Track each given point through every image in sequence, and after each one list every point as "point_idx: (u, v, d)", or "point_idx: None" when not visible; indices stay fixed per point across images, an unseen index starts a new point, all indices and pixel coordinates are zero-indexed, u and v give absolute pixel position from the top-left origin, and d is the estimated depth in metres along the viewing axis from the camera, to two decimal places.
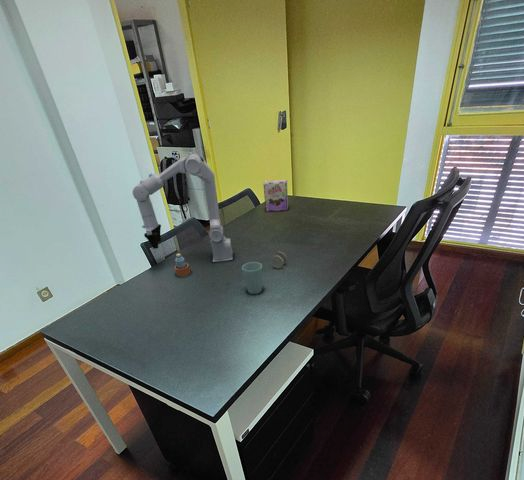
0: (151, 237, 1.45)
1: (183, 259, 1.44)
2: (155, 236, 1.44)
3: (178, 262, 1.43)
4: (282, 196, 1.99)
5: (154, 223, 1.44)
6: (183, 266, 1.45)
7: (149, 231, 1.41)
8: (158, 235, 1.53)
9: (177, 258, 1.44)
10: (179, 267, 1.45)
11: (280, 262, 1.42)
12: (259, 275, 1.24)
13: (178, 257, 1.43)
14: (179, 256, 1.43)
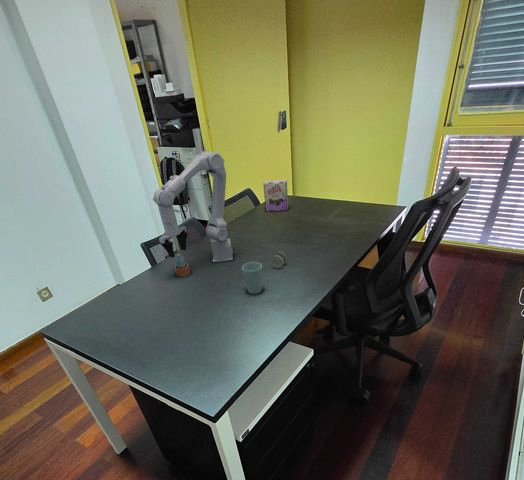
0: (167, 245, 1.37)
1: (183, 259, 1.44)
2: (168, 245, 1.34)
3: (178, 262, 1.43)
4: (282, 196, 1.99)
5: (172, 232, 1.34)
6: (183, 266, 1.45)
7: (161, 239, 1.32)
8: (183, 243, 1.43)
9: (177, 258, 1.44)
10: (179, 267, 1.45)
11: (280, 262, 1.42)
12: (259, 275, 1.24)
13: (178, 257, 1.43)
14: (179, 256, 1.43)
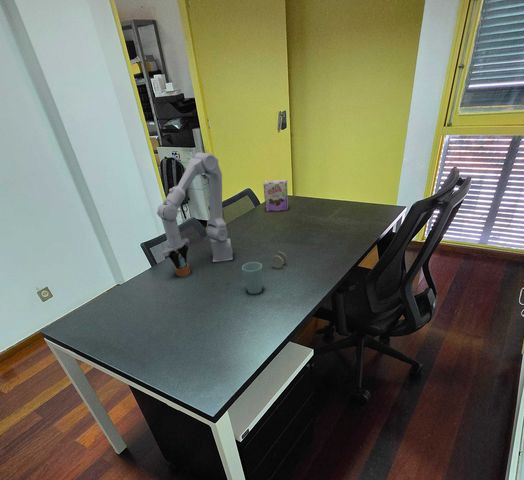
0: (173, 256, 1.41)
1: (183, 259, 1.44)
2: (174, 256, 1.39)
3: None
4: (282, 196, 1.99)
5: (176, 244, 1.38)
6: (183, 266, 1.45)
7: (165, 252, 1.36)
8: (183, 256, 1.45)
9: None
10: (179, 267, 1.45)
11: (280, 262, 1.42)
12: (259, 275, 1.24)
13: None
14: (179, 256, 1.43)
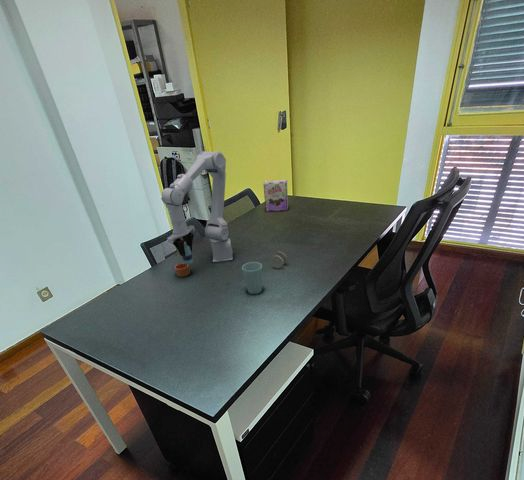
0: (178, 244, 1.35)
1: (188, 247, 1.38)
2: (179, 244, 1.33)
3: None
4: (282, 196, 1.99)
5: (181, 231, 1.32)
6: (188, 255, 1.39)
7: (170, 239, 1.30)
8: (189, 244, 1.39)
9: None
10: (184, 256, 1.39)
11: (280, 262, 1.42)
12: (259, 275, 1.24)
13: None
14: (184, 244, 1.37)
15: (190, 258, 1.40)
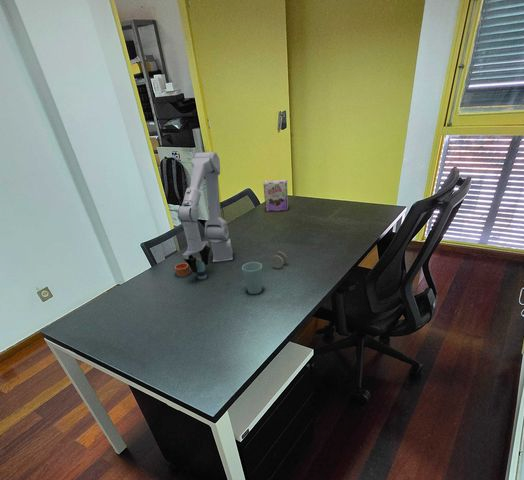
0: (190, 261, 1.36)
1: (203, 263, 1.40)
2: (192, 261, 1.33)
3: (198, 266, 1.39)
4: (282, 196, 1.99)
5: (196, 247, 1.33)
6: (203, 270, 1.41)
7: (185, 255, 1.31)
8: (205, 258, 1.42)
9: (197, 262, 1.39)
10: (199, 272, 1.40)
11: (280, 262, 1.42)
12: (259, 275, 1.24)
13: (198, 261, 1.39)
14: (199, 260, 1.38)
15: (204, 274, 1.42)
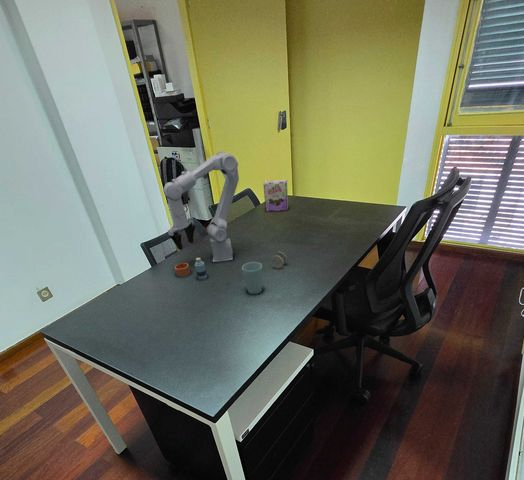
0: (175, 237, 1.41)
1: (203, 263, 1.40)
2: (177, 238, 1.39)
3: (198, 266, 1.39)
4: (282, 196, 1.99)
5: (181, 224, 1.38)
6: (203, 270, 1.41)
7: (170, 232, 1.36)
8: (190, 236, 1.47)
9: (197, 262, 1.39)
10: (199, 272, 1.40)
11: (280, 262, 1.42)
12: (259, 275, 1.24)
13: (198, 261, 1.39)
14: (199, 260, 1.38)
15: (204, 274, 1.42)
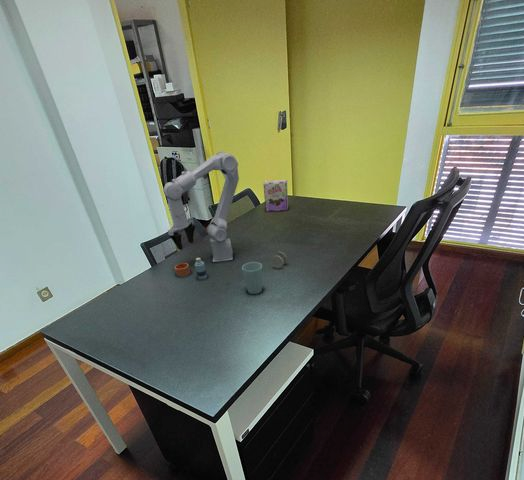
0: (175, 237, 1.41)
1: (203, 263, 1.40)
2: (177, 238, 1.39)
3: (198, 266, 1.39)
4: (282, 196, 1.99)
5: (181, 224, 1.38)
6: (203, 270, 1.41)
7: (170, 232, 1.36)
8: (190, 236, 1.47)
9: (197, 262, 1.39)
10: (199, 272, 1.40)
11: (280, 262, 1.42)
12: (259, 275, 1.24)
13: (198, 261, 1.39)
14: (199, 260, 1.38)
15: (204, 274, 1.42)
